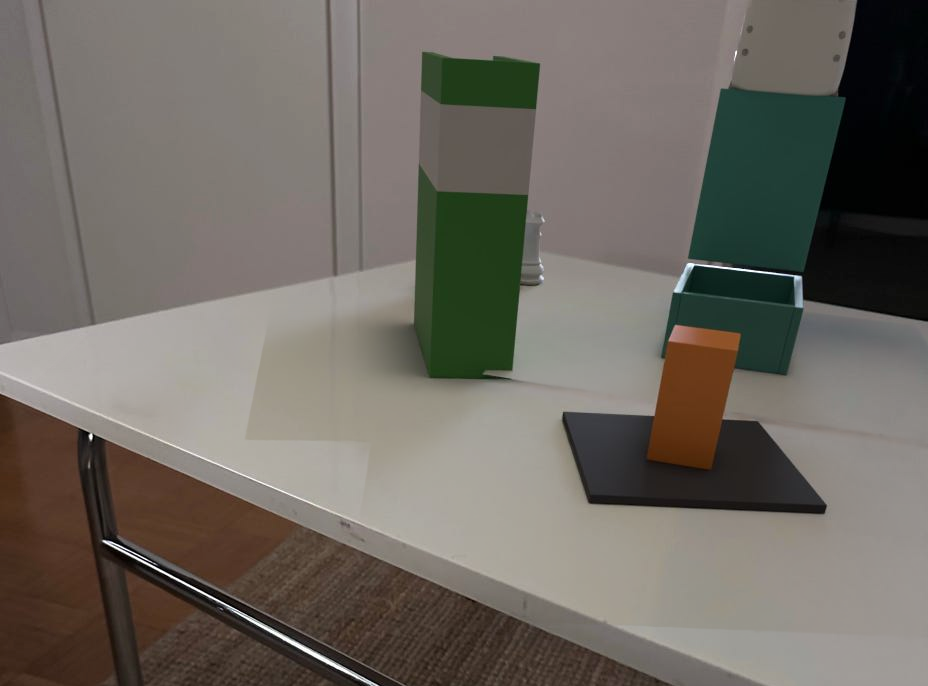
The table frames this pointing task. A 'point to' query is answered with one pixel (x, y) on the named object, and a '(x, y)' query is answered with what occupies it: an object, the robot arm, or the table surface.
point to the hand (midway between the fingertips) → (763, 176)
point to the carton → (692, 396)
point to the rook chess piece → (532, 250)
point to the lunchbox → (741, 312)
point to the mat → (686, 468)
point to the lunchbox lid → (764, 178)
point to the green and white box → (472, 210)
